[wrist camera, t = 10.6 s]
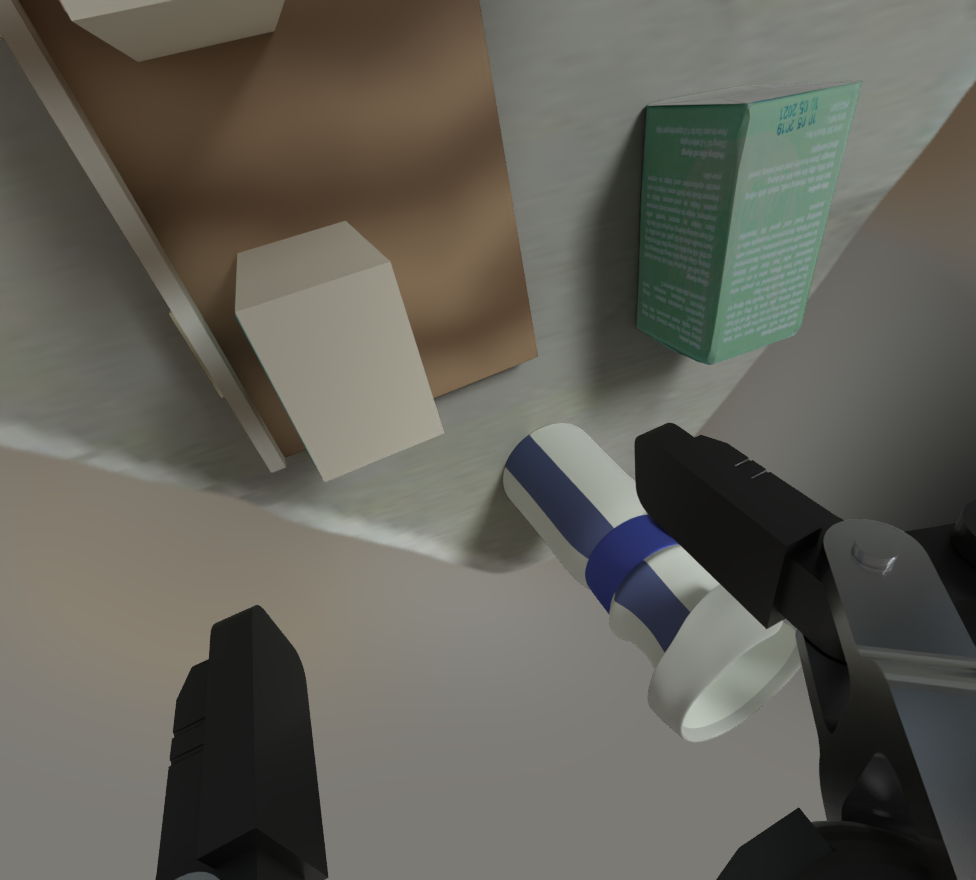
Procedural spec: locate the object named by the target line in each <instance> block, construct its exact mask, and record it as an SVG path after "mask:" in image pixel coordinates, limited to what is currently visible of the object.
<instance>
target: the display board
mask: <svg viewBox="0 0 976 880" xmlns="http://www.w3.org/2000/svg"><path fill="white" fill-rule="evenodd" d="M0 38H2V39H4V41H5V43H6V44H7V46H8V47H9V49H10V51H11V52H12V54H13V55H14V57H15V59H16V60H17V62H18V64H19V65H20V67H21V68H22V70H23V72H24V73H25V75H26V77H27V78H28V80H29V81H30V83H31V85H32V86H33V88H34V90H35V91H36V93H37V94H38V96H39V98H40V99H41V101H42V102H43V104H44V106H45V107H46V109H47V111H48V112H49V114H50V115H51V117H52V119H53V120H54V122H55V124H56V125H57V127H58V128H59V130H60V132H61V133H62V135H63V136H64V138H65V140H66V141H67V143H68V145H69V146H70V148H71V149H72V151H73V153H74V154H75V156H76V158H77V159H78V161H79V162H80V164H81V166H82V167H83V169H84V171H85V172H86V174H87V175H88V177H89V179H90V180H91V182H92V183H93V185H94V187H95V188H96V190H97V192H98V193H99V195H100V196H101V198H102V200H103V201H104V203H105V205H106V206H107V208H108V209H109V211H110V213H111V214H112V216H113V217H114V219H115V221H116V222H117V224H118V226H119V227H120V229H121V230H122V232H123V234H124V235H125V237H126V239H127V240H128V242H129V243H130V245H131V247H132V248H133V250H134V252H135V253H136V255H137V256H138V258H139V260H140V261H141V263H142V264H143V266H144V268H145V269H146V271H147V273H148V274H149V276H150V277H151V279H152V281H153V282H154V284H155V286H156V287H157V289H158V290H159V292H160V294H161V295H162V297H163V299H164V300H165V302H166V303H167V305H168V307H169V308H170V312H169V315H170V317H171V318H172V320H173V322H174V323H175V325H176V326H177V328H178V330H179V331H180V333H181V334H182V336H183V338H184V339H185V341H186V342H187V344H188V346H189V347H190V349H191V350H192V352H193V354H194V355H195V357H196V358H197V360H198V362H199V363H200V365H201V367H202V368H203V370H204V371H205V373H206V375H207V376H208V378H209V379H210V381H211V383H212V384H213V386H214V387H215V389H216V391H217V392H218V394H219V395H220V397H221V398H223V397H225V399H226V401H227V402H228V404H229V405H230V407H231V409H232V410H233V412H234V414H235V415H236V417H237V418H238V420H239V422H240V423H241V425H242V426H243V428H244V430H245V431H246V433H247V435H248V436H249V438H250V439H251V441H252V443H253V444H254V446H255V448H256V449H257V451H258V452H259V454H260V456H261V457H262V459H263V461H264V462H265V464H266V465H267V467H268V469H269V470H270V472H271V473H273V472H276V471H278V470H281V469H283V468H286V464H285V458H286V457H288V456H291V455H293V454H296V453H298V452H301V451H303V450H306V448H305V446H304V444H303V442H302V441H301V439H300V437H299V435H298V433H297V431H296V429H295V427H294V426H293V424H292V422H291V420H290V418H289V416H288V414H287V412H286V410H285V409H284V407H283V405H282V403H281V401H280V399H279V397H278V395H277V393H276V392H275V390H274V388H273V386H272V384H271V382H270V380H269V378H268V377H267V375H266V373H265V371H264V369H263V367H262V365H261V363H260V361H259V360H258V358H257V356H256V354H255V352H254V350H253V348H252V346H251V344H250V343H249V341H248V339H247V337H246V335H245V333H244V331H243V329H242V327H241V326H240V324H239V322H238V320H237V318H236V316H235V297H236V273H237V253H240V252H244V251H247V250H250V249H254V248H257V247H260V246H264V245H267V244H270V243H273V242H277V241H280V240H283V239H287V238H290V237H293V236H297V235H300V234H303V233H306V232H310V231H313V230H316V229H320V228H323V227H326V226H330V225H333V224H336V223H339V222H343V221H347V222H348V223H349V224H350V225H351V226H352V227H353V228H354V229H355V230H356V231H358V232H359V233H360V234H361V235H362V236H363V237H364V238H365V239H366V240H367V241H368V242H370V243H371V244H372V245H373V246H374V247H375V248H376V249H377V250H378V251H379V252H380V253H382V254H383V255H384V256H385V257H386V258H387V259H388V260H389V261H390V262H391V265H392V268H393V271H394V275H395V278H396V281H397V284H398V287H399V291H400V294H401V297H402V300H403V303H404V306H405V310H406V313H407V316H408V319H409V322H410V326H411V329H412V332H413V335H414V338H415V342H416V345H417V348H418V351H419V354H420V357H421V361H422V364H423V367H424V370H425V373H426V377H427V380H428V383H429V386H430V389H431V392H432V396H433V398H436V397H438V396H441V395H443V394H446V393H448V392H451V391H453V390H456V389H458V388H461V387H463V386H466V385H468V384H471V383H473V382H476V381H478V380H481V379H483V378H486V377H488V376H491V375H493V374H496V373H498V372H501V371H503V370H506V369H508V368H511V367H513V366H516V365H518V364H521V363H523V362H526V361H528V360H531V359H533V358H536V357H538V354H537V348H536V342H535V336H534V329H533V323H532V317H531V311H530V305H529V299H528V293H527V287H526V281H525V275H524V269H523V263H522V257H521V251H520V245H519V239H518V233H517V227H516V221H515V215H514V209H513V203H512V197H511V191H510V185H509V179H508V173H507V167H506V161H505V155H504V149H503V143H502V136H501V130H500V124H499V118H498V112H497V106H496V100H495V94H494V88H493V82H492V76H491V70H490V64H489V58H488V52H487V46H486V40H485V34H484V28H483V22H482V16H481V10H480V4H479V0H285V1H284V4H283V7H282V10H281V13H280V16H279V19H278V22H277V25H276V28H275V31H273V32H269V33H264V34H260V35H255V36H251V37H247V38H242V39H238V40H233V41H229V42H224V43H220V44H216V45H211V46H207V47H202V48H198V49H194V50H189V51H185V52H180V53H176V54H171V55H167V56H163V57H158V58H154V59H149V60H145V61H141V62H137V61H136V60H134V59H132V58H131V57H129V56H128V55H126V54H124V53H123V52H121V51H119V50H118V49H116V48H115V47H113V46H111V45H110V44H108V43H106V42H105V41H103V40H102V39H100V38H98V37H97V36H95V35H93V34H92V33H90V32H89V31H87V30H85V29H84V28H82V27H80V26H79V25H77V24H76V23H74V22H72V21H71V19H70V17H69V15H68V13H66V12H65V11H64V9H63V7H62V5H61V3H60V2H59V0H0Z"/></svg>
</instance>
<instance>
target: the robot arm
mask: <svg viewBox="0 0 976 880" xmlns="http://www.w3.org/2000/svg"><path fill="white" fill-rule="evenodd" d="M635 479H636V492H637V496H638V498H639V501H640V503H641V505H642V506H643V508H644V510H645V511H646V512H647V513H648V514H649V516H650V517H651V518H652V519H654V520H655V521H656V522H657V523H658V524H659V525H660V526H661V527H662V528H663V529H664V530H665V531H666V532H667V533H668V534H669V535H670V536H671V537H672V538H673V539H674V540H675V541H676V542H677V543H678V544H679V545H680V546H681V547H682V548H683V549H684V550H685V551H686V552H687V553H689V554H690V555H691V556H692V557H693V558H694V559H695V560H696V561H697V562H698V563H699V564H700V565H701V566H702V567H703V568H704V569H705V570H706V571H707V572H708V573H709V574H710V575H711V576H712V577H713V578H714V579H715V580H716V581H717V582H718V583H719V584H720V585H721V586H722V587H723V588H725V589H726V590H727V591H728V592H729V593H730V594H731V595H732V596H733V597H734V598H735V599H736V600H737V601H738V602H739V603H740V604H741V605H742V606H743V607H744V608H745V609H746V610H747V611H748V612H749V613H750V614H751V615H752V616H753V617H754V618H755V619H756V620H757V621H758V622H759V623H761V624H762V625H763V626H764V627H765V628H766V629H768V628H770V627H772V626H774V625H775V624H777V623H779V622H781V621H782V620H784V619H787V620H788V621H789V622H790V623H791V624H792V625H794V626H795V627H796V633H795V636H796V643H797V647H798V651H799V656H800V660H801V664H802V669H803V673H804V677H805V682H806V686H807V690H808V695H809V699H810V703H811V707H812V712H813V716H814V721H815V725H816V729H817V734H818V739H819V747H820V748H819V749H820V759H819V777H820V787H821V794H822V799H823V804H824V809H825V813H826V818H827V821H815V822H810V820H809V819H808V818H807V817H806V816H805V815H804V813H803V812H802V811H801V809H800V808H797V809H796V810H794V811H793V812H791V813H790V814H788V815H787V816H785V817H784V818H782V819H781V820H779V821H778V822H776V823H775V824H774V825H772V826H771V827H769V828H768V829H766V830H765V831H763V832H762V833H760V834H759V835H757V836H756V837H754V838H753V839H751V840H750V841H748V842H747V843H745V844H744V845H742V846H741V847H740V848H738V850H737V851H736V853H735V854H734V855H733V857H732V858H731V860H730V861H729V862H728V864H727V865H726V867H725V868H724V870H723V871H722V872H721V874H720V875H719V877H718V878H717V880H976V500H973V501H971V502H969V503H968V504H967V505H966V506H965V507H964V509H963V511H962V513H961V515H960V516H959V518H958V521H957V522H956V523H954V524H949V525H943V526H936V527H930V528H925V529H919V530H912V531H905V532H903V531H901V530H900V529H897V528H896V527H893V526H891V525H888V524H884V523H881V522H878V521H873V520H865V519H852V520H845V521H844V520H842V519H841V518H839V517H837V516H836V515H834V514H832V513H831V512H829V511H828V510H826V509H825V508H823V507H822V506H820V505H819V504H817V503H816V502H814V501H813V500H811V499H810V498H808V497H807V496H805V495H804V494H802V493H801V492H799V491H798V490H796V489H795V488H793V487H792V486H790V485H789V484H787V483H786V482H784V481H783V480H781V479H780V478H778V477H777V476H775V475H774V474H772V473H771V472H769V473H768V472H766V469H765V468H763V467H762V466H760V465H759V464H757V463H756V462H754V461H753V460H752V461H750V460H749V459H748V457H747V456H745V455H744V454H742V453H741V452H739V451H738V450H736V449H735V448H733V447H732V446H730V445H729V444H727V443H725V442H722V441H718V440H716V439H712V438H709V437H706V436H703V435H699V436H697V437H695V438H694V437H693V436H692V435H690V434H689V433H687V432H686V431H684V430H683V429H682V428H680V427H679V426H677V425H676V424H673V423H666V424H664V425H662V426H660V427H657V428H655V429H653V430H651V431H648V432H646V433H644V434H642V435H639V436H638V437H637V438H636V439H635ZM173 733H174V738H173V739H172V744H171V752H170V761H171V766H170V767H169V770H168V779H167V787H166V796H165V805H164V814H163V822H162V831H161V840H160V849H159V858H158V866H157V875H156V880H325V879H326V878H328V870H327V861H326V852H325V843H324V835H323V825H322V817H321V808H320V799H319V790H318V781H317V772H316V764H315V755H314V746H313V737H312V728H311V720H310V710H309V702H308V693H307V684H306V677H305V672H304V669H303V665H302V663H301V660H300V658H299V655H298V653H297V652H296V650H295V648H294V647H293V646H292V644H291V643H290V642H289V641H288V639H287V638H286V637H285V636H284V634H283V633H282V632H281V631H280V629H279V628H278V627H277V625H276V624H275V623H274V622H273V621H272V619H271V618H270V617H269V615H268V614H267V613H266V612H265V610H264V609H263V608H262V607H261V606H259V605H255V606H253V607H251V608H249V609H246V610H244V611H242V612H240V613H237V614H235V615H233V616H231V617H228V618H226V619H224V620H222V621H219V622H217V623H215V624H214V625H213V627H212V629H211V635H210V651H209V659H208V660H206V661H204V662H202V663H199V664H197V665H195V666H193V667H192V668H191V670H190V672H189V674H188V677H187V679H186V681H185V683H184V685H183V687H182V689H181V691H180V694H179V696H178V698H177V700H176V709H175V718H174V727H173Z"/></svg>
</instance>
